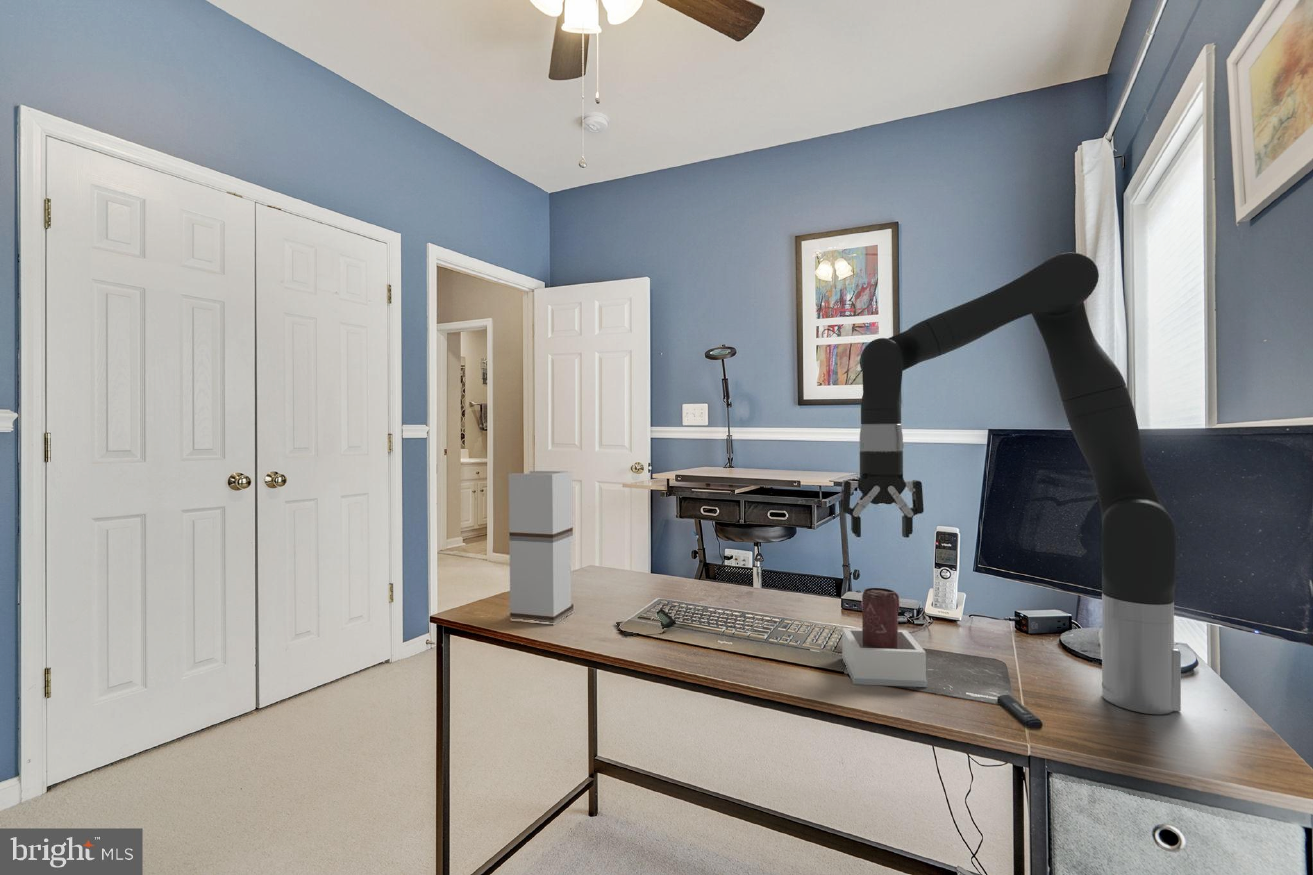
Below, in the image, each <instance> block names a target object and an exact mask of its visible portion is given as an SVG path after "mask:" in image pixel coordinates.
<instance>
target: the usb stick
mask: <svg viewBox="0 0 1313 875" xmlns="http://www.w3.org/2000/svg"><path fill="white" fill-rule="evenodd" d="M997 702H998V703H999V704H1001V706H1002V707H1003V708H1005V709H1006V710H1007V711H1008V712H1009V713H1010V714H1011V715H1013V716H1014V717H1015V718H1016V719H1017V720H1018V721H1020V722H1021V723H1022V724H1023V725H1024V726H1025V727H1027V728H1030V729H1042V728H1043V725H1044V724H1043V721H1042V720H1041V719H1040V718H1038V717H1037V715H1035V714H1034V713H1032V712H1031V710H1029V709H1028V708H1027V707H1025V706H1024V705H1023V704H1022V703H1021V702H1019V701H1018V700H1017V699H1015V698H1014V697H1013V696H1012V695H1010V694H1003V695H1002V694H1001V695H999V696H997Z"/></svg>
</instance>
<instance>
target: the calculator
mask: <svg viewBox="0 0 1313 875" xmlns="http://www.w3.org/2000/svg"><path fill="white" fill-rule="evenodd" d="M655 613H657V615H658V617H659V619H660V620H661V621H660V622H661V626H662V629H664V628H669V629H670V628H672V627H673V626H675V625H676V624H677V621H676V620H675V619H674V618H673V617H672V616H671V615H670V614H669V613H668V612H666V611H665V610H664V609H663V608H661V609H659V610H658V611H657V612H655ZM622 622H623V621H616V622H615V625H616V624H617V625H618V626H620V624H621V623H622ZM617 625H616V626H617ZM623 632H624V631H623ZM637 634H639V633H633V632H624V634H623V635H624V636H634V635H637ZM634 637H635V636H634Z"/></svg>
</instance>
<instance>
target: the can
mask: <svg viewBox="0 0 1313 875" xmlns="http://www.w3.org/2000/svg"><path fill="white" fill-rule="evenodd" d="M861 606H862V607H861V608H862V609H861V610H862V612H861V613H862V614H861V615H862V616H861V617H862V619H861V620H862V626H861V627H862V628H861V629H862V635H863V648H882V649H898V630H899V629H898V628H899V627H898V626H899V624H898V623H899V620H898V619H899V615H898V614H899V612H900V595H899V593H897V591H894V590H892V589H888V588H883V587H870V588H869V587H868V588H864V590H863V593H862V597H861Z"/></svg>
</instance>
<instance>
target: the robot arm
mask: <svg viewBox="0 0 1313 875" xmlns="http://www.w3.org/2000/svg"><path fill="white" fill-rule="evenodd" d="M1099 275H1100V273H1099V269H1098V265H1097V264H1096V263H1095V262H1094V260H1093V259H1091V257H1089V256H1087V255H1085V254H1082V253H1079V252H1073V251H1072V252H1063V253H1058V254H1056V255H1053V256H1051V257H1049V258H1047V259H1046V260H1045V261H1043V262H1042V263H1041V264H1039V265H1038V266H1036V267H1034V268H1033V269H1031V270H1028V272H1027V273H1024V274H1023V275H1021V276H1020V277H1018V278H1016V279H1014V280H1011V281H1010V282H1009V283H1006V284H1004V285H1003V286H1000V287H998V288H997V289H994V290H992V291H990V292H987V293H986V294H984V295H981V296H979V297H977V298H974V299H972V300H970V301H967V302H964V303H962V304H960V305H957V306H954V307H953V308H951V309H948V310H946V311H945V310H944V311H942V312H940V313H938V314H935V315H934V316H931V317H928V318H926V319H923V320H922V321H919V322H918V323H915V324H914V325H912V326H910V327H909V328H908V329H907V330H905V331H902V332H899V333H897V334H895V335H893V336H890V337H888V338H887V337H886V338H885V337H880V338H876V339H873V340H872V341H869V342H868V343H867V344H866V345H865V347H864V349H863V350H862V352H861V354H860V357H859V367H860V370H861V372H862V373H861V374H862V396H861V402H860V431H859V478H858V480H857V481H852V480H848V479H847V480H846V479H844V480H842V481H841V491H840V492H841V493H840V494H841V495H840V508H839V509H840V511H841V512H842V513H844V514H847V515H849V516H850V530H851V533H852V534H854V536H855V537H856V538H861V536H862V522H861V521H862V517H861V516H860V515H861V514H862V512H863V511H864V510H865V509H866V508H867V507H868V506H869V504H873V505H880V504H884V505H892V504H894V505H896V506H897V508H898V509H899V510H900V511H901V513H902V514H903V515H902V516H901V536H902V538H910V535H913V532H914V531H913V530H914V529H913V528H914V526H913V525H914V522H913V519H914V516H918V515H921V514H924V510H925V509H924V496H923V495H924V494H923V482H922V481H920V480H917V479H913V480H911V481H910V480H909V481H907V480H906V481H905V479H904V447H905V446H904V445H905V444H904V435H903V428H902V401H901V400H902V399H901V392H902V391H901V390H902V381H903V371H906V370H907V369H909V368H912V367H914V366H916V365H918V364H920V363H922V362H925V361H928V360H931V359H935V358H938V357H940V356H942V355H945V354H947V353H950V352H953V351H955V350H958V349H960V348H962V347H964V346H966V345H968V344H971V343H972V342H975V341H977V340H978V339H981V338H982V337H984V336H987V335H988V334H990V333H992V332H994V331H995V330H998V329H1000V328H1001V327H1003V326H1005V325H1007V324H1010V323H1012V322H1014V321H1016V320H1019V319H1021V318H1023V317H1026V316H1029V315H1031V316H1032V318H1033V320H1034V322H1035V324H1036V326H1037V328H1038V331H1039V333H1040V335H1041V337H1042V339H1043V341H1044V344H1045V346H1046V350H1047V353H1048V356H1049V357H1048V358H1049V362H1050V365H1051V369H1052V372H1053V376H1054V378H1055V382H1056V385H1057V386H1056V387H1057V389H1058V392H1059V396H1060V400H1061V403H1062V406H1063V409H1064V413H1065V416H1066V419H1067V422H1068V424H1069V427H1070V430H1071V432H1072V434H1073V437H1074V439H1075V440H1076V443H1077V445H1078V447H1079V450H1080V451H1081V453H1082V455H1083V458H1084V459H1085V461H1086V462H1087V465H1088V467H1089V469H1090V471H1091V474H1092V477H1093V480H1094V483H1095V486H1096V492H1097V497H1098V502H1099V508H1100V513H1101V526H1102V529H1101V538H1102V540H1101V544H1102V545H1101V550H1102V551H1101V552H1102V553H1101V554H1102V555H1101V558H1102V559H1101V561H1102V563H1101V564H1102V566H1101V589H1102V590H1101V613H1102V614H1101V616H1102V617H1101V619H1102V620H1101V622H1102V623H1101V624H1102V625H1101V626H1102V627H1101V630H1102V631H1101V634H1102V636H1101V646H1102V647H1101V649H1102V650H1101V660H1102V661H1101V668H1102V669H1101V680H1102V681H1101V689H1102V690H1101V693H1102V697H1103V699H1105V701H1107V702H1108V703H1110V704H1112V705H1115V706H1117V707H1119V708H1123V709H1125V710H1128V711H1132V712H1137V713H1142V714H1149V715H1168V714H1171V713H1174V712H1181V711H1182V710H1181V709H1182V707H1181V705H1182V700H1181V697H1182V691H1181V690H1182V689H1181V687H1182V683H1181V682H1182V679H1181V678H1182V675H1181V674H1182V666H1181V665H1182V661H1181V660H1182V658H1181V657H1182V654H1181V651H1180V650H1179V649H1177V648H1175V588H1176V582H1177V581H1176V580H1177V579H1176V578H1177V576H1176V574H1177V530H1176V528H1177V527H1176V524H1175V522H1174V520H1173V518H1172V516H1171V515H1170V514H1169V513H1168V512H1167V510H1166V508H1165V507H1164V506H1163V504H1162V502H1161V500H1160V498H1159V495H1158V494H1157V492H1156V490H1155V487H1154V485H1153V482H1152V481H1151V479H1150V476H1149V473H1148V472H1147V469H1146V465H1145V462H1144V458H1143V452H1142V451H1143V450H1142V442H1141V437H1140V436H1141V435H1140V431H1139V430H1140V429H1139V425H1138V424H1139V423H1138V421H1137V420H1138V418H1137V415H1136V412H1135V408H1134V404H1133V400H1132V398H1131V395H1130V393H1129V389H1128V387H1127V383H1126V381H1125V379H1124V377H1123V374H1122V373H1121V371H1120V370H1119V368H1118V367H1117V365H1116V364H1115V363H1114V362H1113V360H1112V359H1111V357H1110V356H1109V354H1107V352H1106V351H1105V350H1104V348H1102V346H1101V345H1100V344H1099V342H1098V341H1097V339H1096V337H1095V335H1094V333H1093V331H1092V328H1091V325H1090V322H1089V318H1088V314H1087V310H1086V305H1085V301H1086V300H1087V299H1088V298H1089V297H1090V296H1091V295H1092V294H1093V292H1094V290H1096V287H1097V285H1098V282H1099V277H1100V276H1099ZM856 488H857V489H858V491H860V492H861V495H860V497H859V498H858V499H857V501H856V503H855V504H854V506H852V507H851V494H852V493H854V492H855V489H856ZM906 488H907V490H908V492H909V493H911V500H912V502H911V503H912V507H909V506H908V504H907V502H906V501H905V499H904V498H903V497H902V496H901V495H902V494H903V492H904V491H905V489H906Z"/></svg>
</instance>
